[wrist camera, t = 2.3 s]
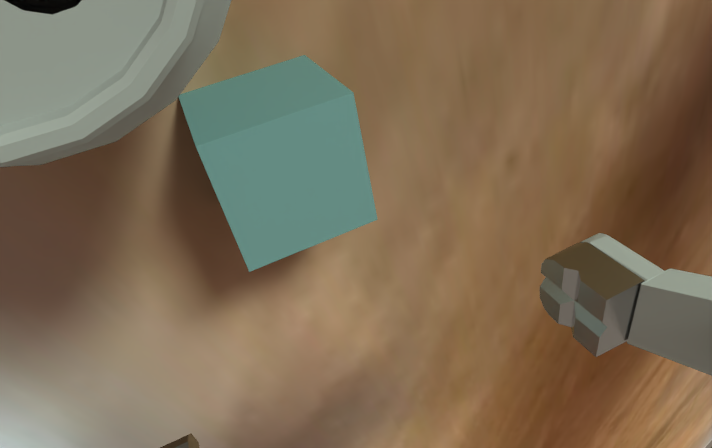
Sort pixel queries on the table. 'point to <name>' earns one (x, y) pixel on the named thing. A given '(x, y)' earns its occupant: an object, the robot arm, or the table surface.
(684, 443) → the table surface
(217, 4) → the can
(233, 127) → the teal block
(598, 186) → the table surface
